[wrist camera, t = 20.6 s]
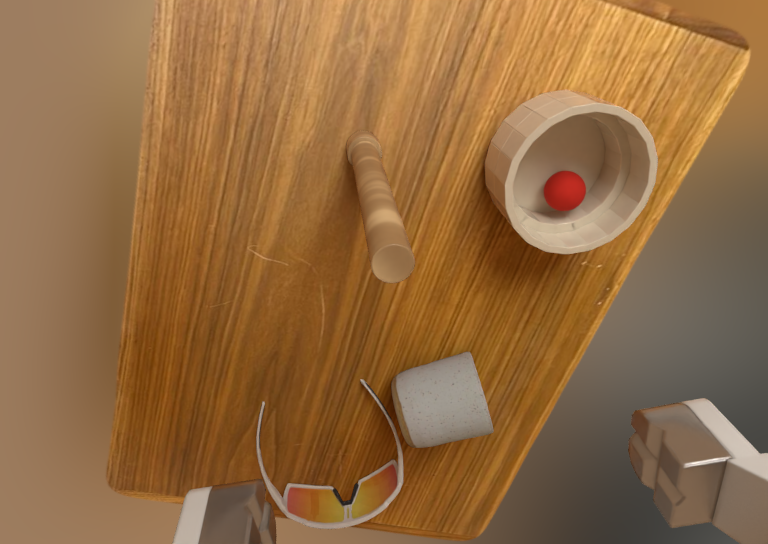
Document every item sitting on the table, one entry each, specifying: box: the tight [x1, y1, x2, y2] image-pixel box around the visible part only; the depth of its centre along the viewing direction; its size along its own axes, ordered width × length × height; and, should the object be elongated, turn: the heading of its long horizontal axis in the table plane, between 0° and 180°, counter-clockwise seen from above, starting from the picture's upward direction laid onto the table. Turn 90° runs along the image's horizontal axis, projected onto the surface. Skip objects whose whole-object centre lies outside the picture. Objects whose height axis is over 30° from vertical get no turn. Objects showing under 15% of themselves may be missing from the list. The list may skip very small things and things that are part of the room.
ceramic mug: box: [391, 352, 493, 448], centre depth 50 cm, size 11×8×8 cm
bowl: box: [485, 90, 658, 254], centre depth 41 cm, size 11×11×6 cm
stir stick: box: [346, 131, 415, 283], centre depth 33 cm, size 3×3×20 cm
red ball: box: [544, 171, 586, 211], centre depth 43 cm, size 3×3×3 cm
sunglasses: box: [256, 379, 403, 529], centre depth 54 cm, size 14×15×5 cm
